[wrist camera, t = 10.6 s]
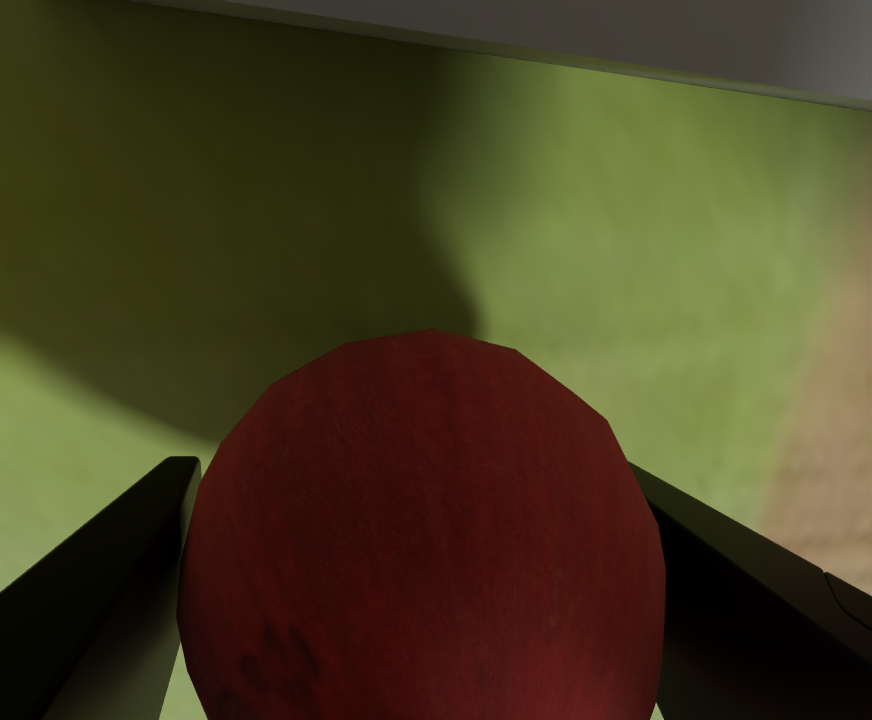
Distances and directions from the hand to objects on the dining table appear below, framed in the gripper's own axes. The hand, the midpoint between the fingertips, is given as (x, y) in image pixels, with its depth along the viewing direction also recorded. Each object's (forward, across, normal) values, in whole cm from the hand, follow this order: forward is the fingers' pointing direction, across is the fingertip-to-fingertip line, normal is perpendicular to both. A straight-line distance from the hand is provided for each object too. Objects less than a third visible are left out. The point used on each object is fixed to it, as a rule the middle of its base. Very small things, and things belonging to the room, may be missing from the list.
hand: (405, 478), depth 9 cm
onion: (+2, 0, 0) cm, 2 cm away
